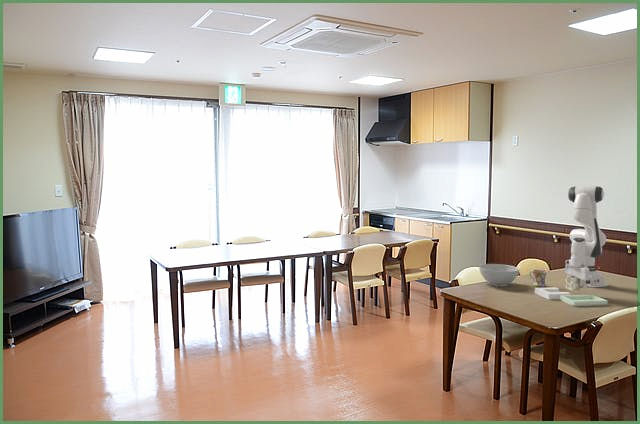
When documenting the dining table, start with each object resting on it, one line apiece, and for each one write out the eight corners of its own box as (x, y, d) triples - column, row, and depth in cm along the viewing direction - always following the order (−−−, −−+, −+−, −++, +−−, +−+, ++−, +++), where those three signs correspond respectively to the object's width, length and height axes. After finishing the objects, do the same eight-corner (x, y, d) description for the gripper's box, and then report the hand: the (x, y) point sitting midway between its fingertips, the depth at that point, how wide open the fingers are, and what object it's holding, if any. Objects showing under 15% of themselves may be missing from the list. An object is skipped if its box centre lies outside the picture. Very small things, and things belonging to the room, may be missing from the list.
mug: (548, 286, 358) (549, 271, 357) (542, 288, 352) (543, 273, 351) (531, 283, 367) (532, 268, 366) (525, 285, 361) (526, 270, 360)
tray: (591, 299, 325) (592, 294, 325) (607, 305, 312) (607, 300, 311) (559, 300, 322) (560, 295, 322) (573, 306, 308) (574, 301, 308)
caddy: (586, 286, 339) (586, 275, 338) (592, 289, 333) (593, 277, 332) (565, 288, 336) (566, 276, 336) (571, 290, 331) (571, 278, 330)
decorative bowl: (470, 281, 370) (471, 265, 368) (500, 279, 379) (501, 262, 378) (495, 290, 345) (496, 272, 344) (527, 287, 354) (528, 270, 353)
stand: (555, 292, 341) (555, 287, 341) (570, 298, 325) (570, 293, 325) (534, 293, 339) (534, 287, 339) (548, 299, 323) (548, 294, 323)
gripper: (593, 266, 323) (592, 287, 324) (572, 259, 343) (571, 280, 344) (584, 266, 322) (583, 288, 323) (563, 260, 342) (563, 280, 343)
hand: (577, 284), depth 334 cm, fingers closed on caddy, 6 cm apart
